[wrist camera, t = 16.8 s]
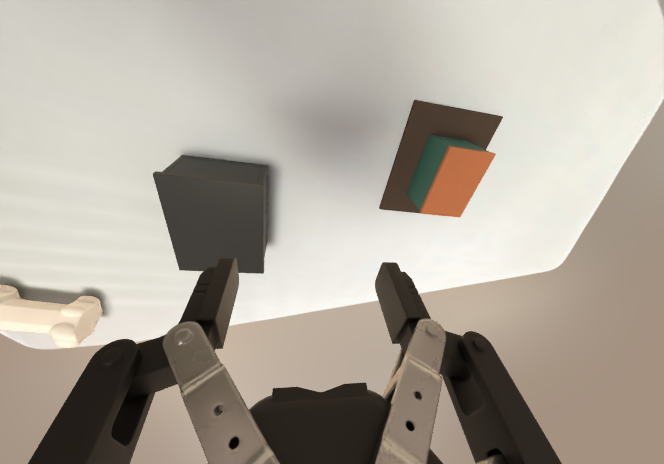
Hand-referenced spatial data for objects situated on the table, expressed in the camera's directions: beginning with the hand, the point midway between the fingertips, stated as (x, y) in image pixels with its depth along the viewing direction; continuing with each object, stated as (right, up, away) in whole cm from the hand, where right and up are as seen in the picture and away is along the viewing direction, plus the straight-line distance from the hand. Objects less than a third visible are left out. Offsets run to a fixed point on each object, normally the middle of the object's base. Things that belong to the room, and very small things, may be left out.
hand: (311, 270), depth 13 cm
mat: (+17, +12, +23) cm, 31 cm away
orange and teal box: (+17, +12, +23) cm, 30 cm away
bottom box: (-14, +6, +23) cm, 28 cm away
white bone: (-50, -10, +31) cm, 59 cm away
